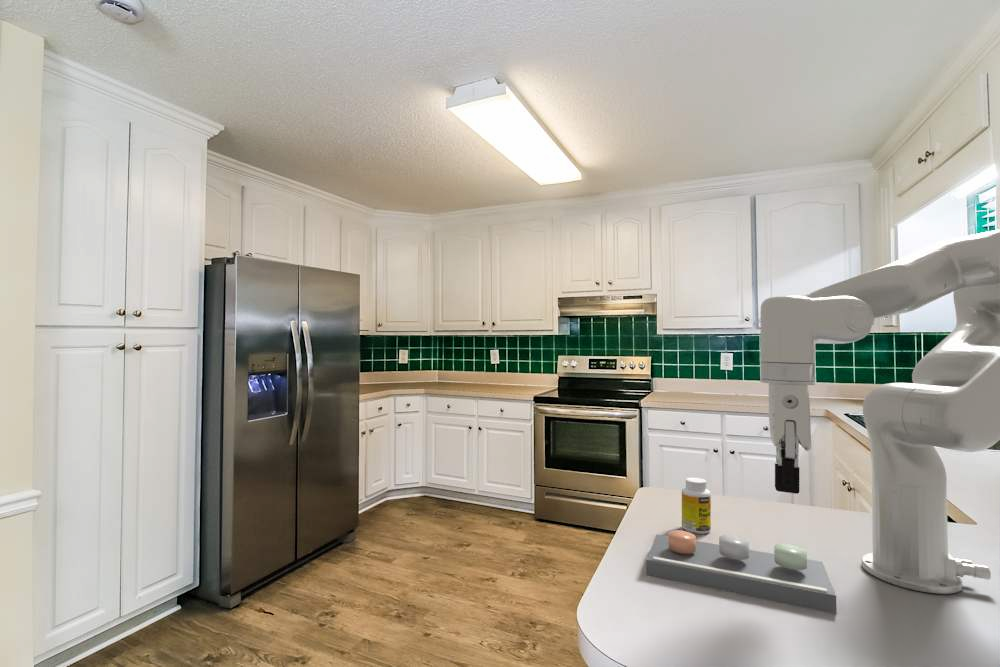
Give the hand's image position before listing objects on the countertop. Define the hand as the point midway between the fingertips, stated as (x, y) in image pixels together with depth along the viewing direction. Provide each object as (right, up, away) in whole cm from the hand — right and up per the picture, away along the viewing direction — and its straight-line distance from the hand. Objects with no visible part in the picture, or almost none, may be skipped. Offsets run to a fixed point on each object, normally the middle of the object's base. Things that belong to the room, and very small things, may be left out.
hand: (786, 490), depth 76 cm
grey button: (-7, -11, +3) cm, 14 cm away
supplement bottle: (-5, -16, +23) cm, 29 cm away
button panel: (-7, -15, +3) cm, 17 cm away
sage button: (0, -11, 0) cm, 11 cm away
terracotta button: (-14, -12, +7) cm, 20 cm away
